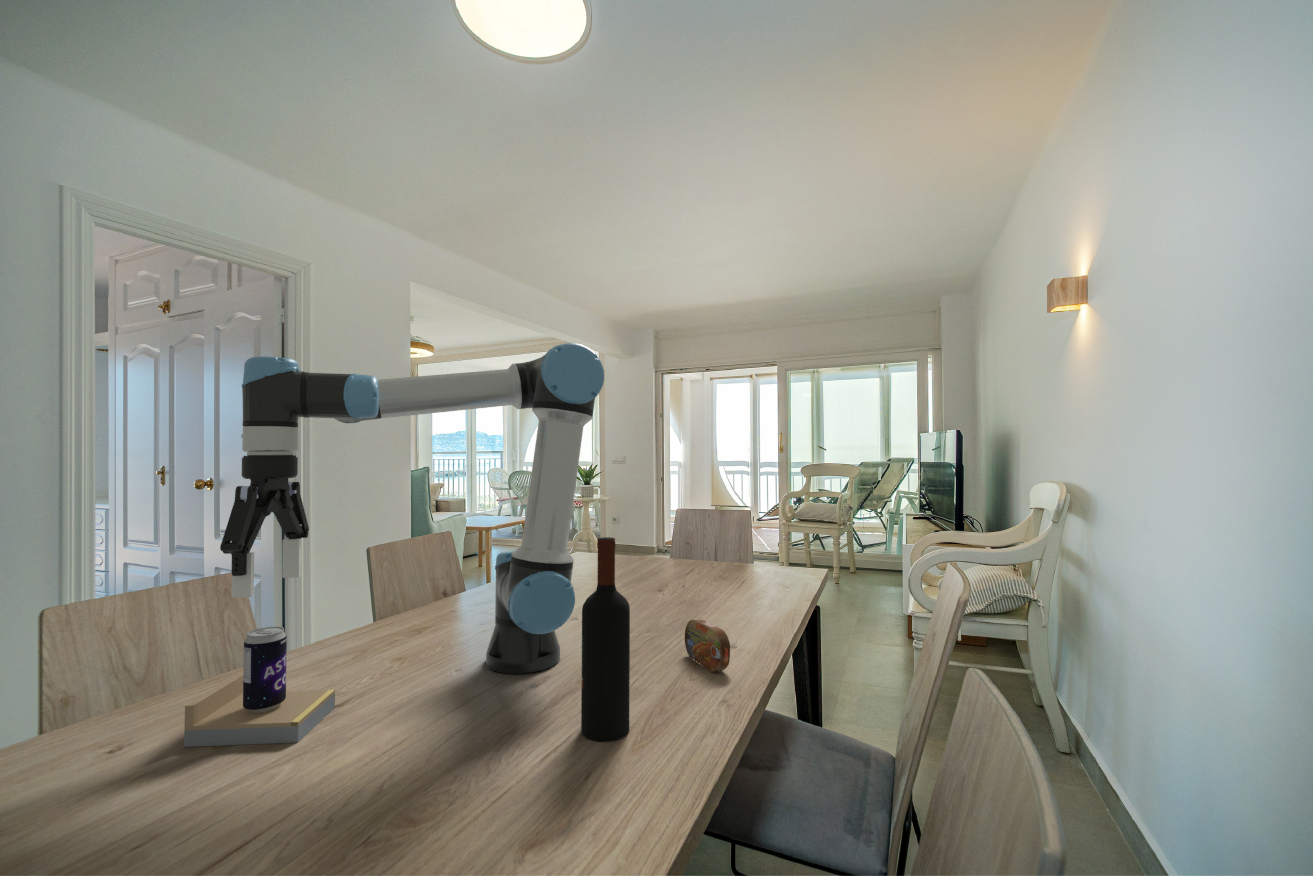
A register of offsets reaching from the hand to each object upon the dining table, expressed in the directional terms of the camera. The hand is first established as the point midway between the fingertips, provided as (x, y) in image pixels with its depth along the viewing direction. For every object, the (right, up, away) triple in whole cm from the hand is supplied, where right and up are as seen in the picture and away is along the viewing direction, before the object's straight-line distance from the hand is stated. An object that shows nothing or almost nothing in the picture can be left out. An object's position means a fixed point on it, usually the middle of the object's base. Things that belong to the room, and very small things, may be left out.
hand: (268, 586), depth 93 cm
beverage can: (0, -19, -1) cm, 19 cm away
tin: (+73, -23, +27) cm, 81 cm away
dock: (0, -22, -1) cm, 22 cm away
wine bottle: (+54, -22, -2) cm, 59 cm away
